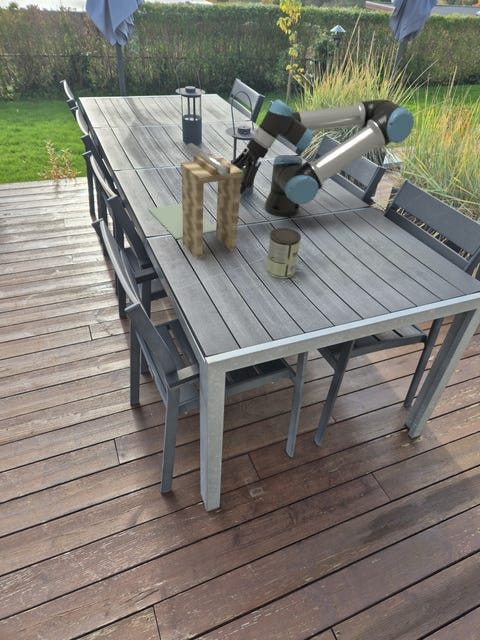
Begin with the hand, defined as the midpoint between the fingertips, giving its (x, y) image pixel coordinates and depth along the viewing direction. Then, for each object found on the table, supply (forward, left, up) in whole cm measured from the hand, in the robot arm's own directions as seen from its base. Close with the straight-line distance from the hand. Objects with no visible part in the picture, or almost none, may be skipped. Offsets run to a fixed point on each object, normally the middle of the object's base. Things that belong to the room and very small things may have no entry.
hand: (229, 193), depth 168 cm
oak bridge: (+11, +14, -14) cm, 23 cm away
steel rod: (+12, +11, +16) cm, 22 cm away
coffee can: (-10, +34, -15) cm, 39 cm away
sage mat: (+17, -9, -14) cm, 24 cm away
